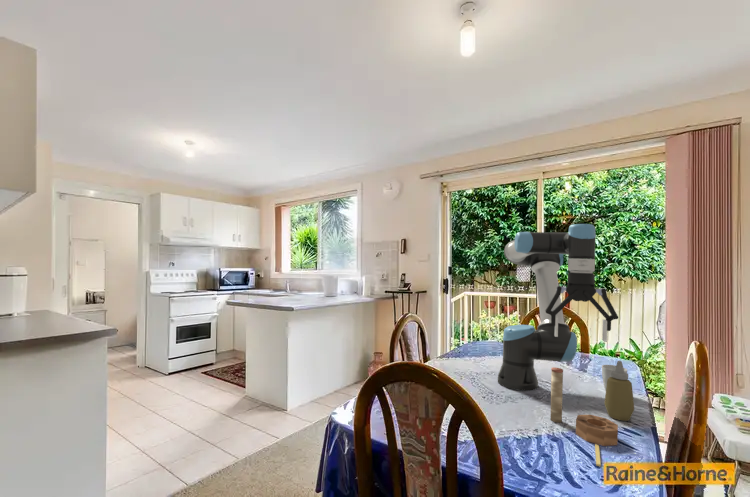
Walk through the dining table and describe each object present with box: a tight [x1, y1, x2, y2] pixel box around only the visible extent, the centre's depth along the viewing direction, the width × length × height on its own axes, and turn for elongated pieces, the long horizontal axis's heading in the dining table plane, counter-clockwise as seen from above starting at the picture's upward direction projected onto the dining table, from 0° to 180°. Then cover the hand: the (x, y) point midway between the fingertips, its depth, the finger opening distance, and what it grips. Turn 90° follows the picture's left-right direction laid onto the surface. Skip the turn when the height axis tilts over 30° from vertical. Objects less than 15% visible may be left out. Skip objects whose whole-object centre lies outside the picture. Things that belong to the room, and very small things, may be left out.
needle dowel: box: [549, 367, 564, 424], centre depth 114 cm, size 3×3×16 cm
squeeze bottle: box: [603, 360, 635, 422], centre depth 118 cm, size 8×8×18 cm
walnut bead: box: [575, 414, 619, 447], centre depth 104 cm, size 10×10×4 cm
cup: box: [601, 364, 628, 392], centre depth 138 cm, size 8×8×10 cm
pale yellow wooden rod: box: [594, 443, 601, 468], centre depth 93 cm, size 11×1×1 cm, turn 150°
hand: (579, 338), depth 116 cm, fingers open, 13 cm apart
